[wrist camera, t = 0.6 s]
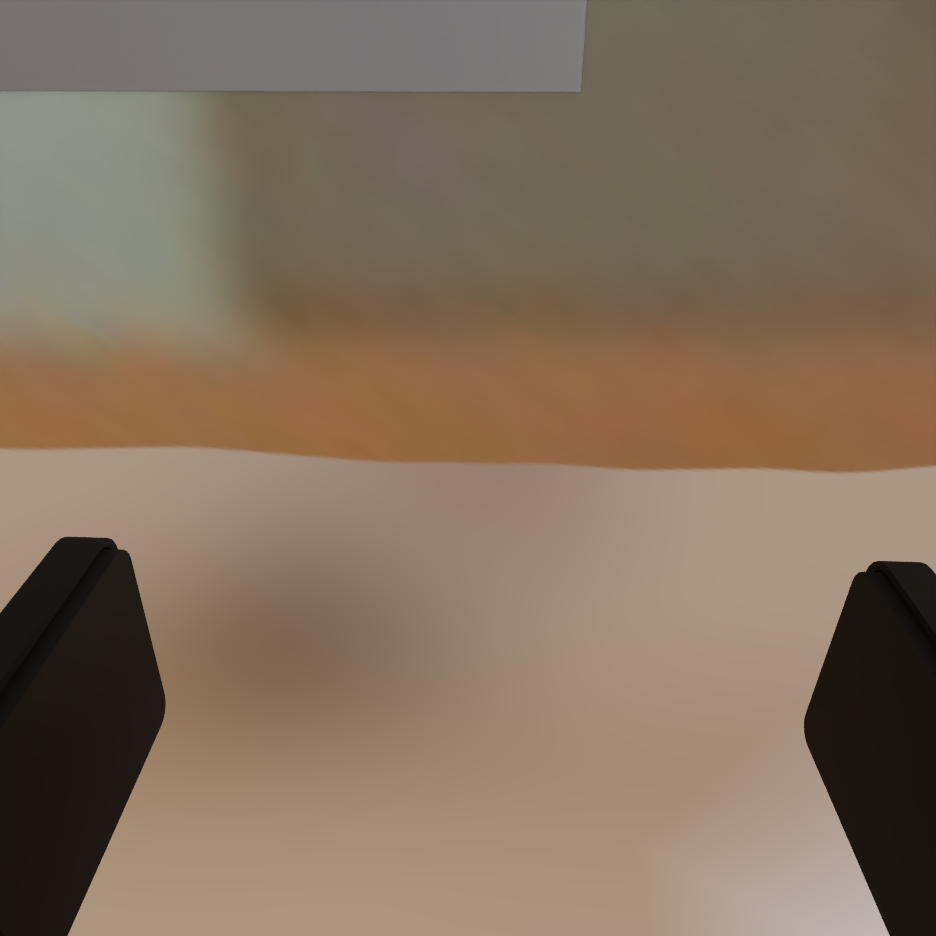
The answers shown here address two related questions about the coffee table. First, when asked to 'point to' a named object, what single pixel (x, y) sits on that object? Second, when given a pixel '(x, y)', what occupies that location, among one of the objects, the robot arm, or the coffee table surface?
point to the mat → (292, 45)
